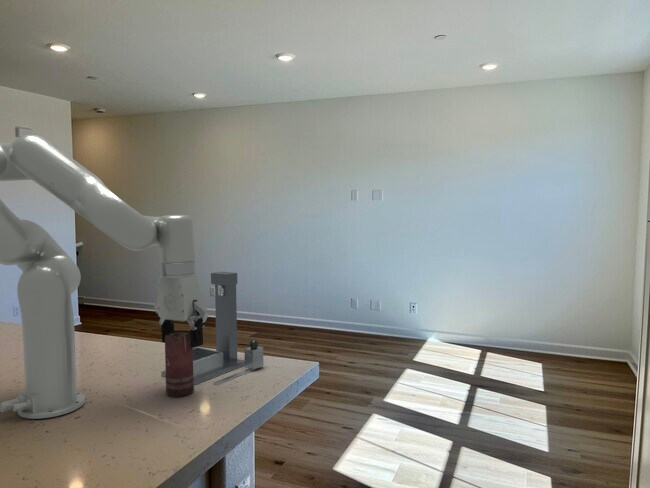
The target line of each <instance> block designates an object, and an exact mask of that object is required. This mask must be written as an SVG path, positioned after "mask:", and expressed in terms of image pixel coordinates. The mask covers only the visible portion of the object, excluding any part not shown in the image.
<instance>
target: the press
mask: <svg viewBox="0 0 650 488" xmlns="http://www.w3.org/2000/svg"><path fill="white" fill-rule="evenodd" d="M210 285H214V294H215V295H214V297H215V298H214V299H215V301H214V302H215V305H214V306H215V347H216V348H215V349H210V348H205V347H201V346H198V347H195V348H193V377H194V386H196V385H198V384H200V383H203V382H206V381H208V380H212V379H214V378H216V377H218V376H219V377H220V376H221V375H224V374H228V373H229V372H232V371H235V370H237V369H239V368H242V367H245V359H238V325H237V324H238V321H237V319H238V317H237V314H238V313H237V309H238V308H237V307H238V306H237V285H238V272H233V271H232V272H229V271H218V272H217V271H216V272H211V273H210ZM260 368H261V367H259V368H256V369H254V370H253V369H248V368H245V369H244V370H241V371H239V372H236V373H234V374H231V375H229V376H227V377H224V378H222V379H221V378H220V379H219V380H217V381H213V385H215V386H218V385H220V384H223V383H225V382H228V381H230V380H234V379H236V378H238V377H241V376H243V375H246V374H247V373H250V372H253V371H255V370H258V369H260ZM161 377H163V378H166V369H165V370H163V371H161Z"/></svg>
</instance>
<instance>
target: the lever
mask: <svg viewBox="0 0 650 488" xmlns="http://www.w3.org/2000/svg"><path fill="white" fill-rule="evenodd" d="M248 345H249V347H246V348H244V361H245V366H244V368H245V369H253V371H255V370H257V369H256V368H258V369H260V368H261V367H264V346H259V341H258V340H257V339H251V340H250V341H249V344H248ZM259 367H260V368H259ZM254 369H255V370H254Z"/></svg>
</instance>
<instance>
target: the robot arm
mask: <svg viewBox="0 0 650 488" xmlns="http://www.w3.org/2000/svg"><path fill="white" fill-rule="evenodd" d="M30 180H31V181H33V182H34V183H35V184H37V185H39V186H40V187H41V188H43V189H44V190H46V191H47V192H49V193H50V194H51V195H53V196H54V197H55V198H56V199H58V200H59V201H61V202H62V203H64V204H65V205H66V206H68V207H69V208H70V209H72V210H73V211H74V212H75V213H76V214H78V215H79V216H81V217H82V218H83V219H85V220H87V222H88V223H90V224H91V225H92V226H94V227H95V228H96V229H98V230H99V231H101V232H102V233H103V234H104V235H106V236H107V237H109V238H110V239H111V240H113V241H114V242H116V243H118V244H119V245H121V246H122V247H124V248H125V249H128V250H130V251H134V252H141V251H144V250H147V249H148V248H152V247H157V246H158V249H159V250H158V251H159V263H160V265H159V266H160V275H159V277H158V283H157V298H156V299H157V302H156V303H155V304H154V305H153V308H154V310H155V311H154V312H155V314H156V317H157V319H158V323H159V325H160V330H161V331H160V333H161V342H162V343H164V344H165V336H166V334H167V333H169V332H172V331H175V324H174V322H173V321H175V322H180V323H185V322H187V323H188V325H189V327H190V329H189V331H190V346H191V348H195V347H201V346H203V345H204V336H203V334H204V333H203V331H204V330H203V328H205V324H206V323H207V322H208V316H209V313H210V310H208V308H207V307H206V306H205V305H203V304H202V302H201V301H202V299H201V290H200V286H199V280H198V277H197V274H196V263H195V262H196V260H195V259H196V258H195V241H194V223H193V219H192V217H191V216H190V215H187V214H169V215H162V216H152V215H151V216H149V215H143V214H142V213H140V212H139V211H137V210H136V209H134V208H133V207H132V206H131V205H129V204H128V203H127V202H125V201H124V200H122V199H121V198H120V197H118V196H117V195H116V194H115V193H113V192H112V191H111V190H110V189H109V188H108V187H107V186H106V184H105V183H104V182H103V181H102V179H100V178H99V177H98V176H97V175H96V174H94V173H93V172H92V171H90V170H89V169H87V168H86V167H85V166H84V165H82V164H80V163H79V162H78V161H76V160H75V159H74V158H72V157H71V156H70V155H69V154H67V153H66V152H65V151H63V150H62V149H61V148H60V147H59V146H58V145H57V144H56V143H54V142H53V141H51V140H49V139H47V138H45V137H43V136H41V135H37V134H25V135H21V136H19V137H17V138H16V139H15V140H14V141H13V142H0V182H9V181H11V182H12V181H30ZM0 264H1V265H4V266H15V265H16V266H17V267H18V269H20V270H21V271H22V273H21V274H20V277H19V279H18V282H17V290H16V291H17V299H18V305H19V310H20V317H21V326H22V327H21V328H22V329H21V330H22V345H23V347H22V348H23V365H24V366H23V367H24V368H23V369H24V388H25V389H23V390H20V391H19V395H17V396H15V398H14V399H8V400H5V401H2V402H0V413H5V412H8V411H10V410H11V411H12V412H17V415H18V416H19V417H20V418H24V419H27V420H28V419H31V420H36V419H37V420H39V419H49V418H56V417H59V416H63V415H66V414H69V413H71V412H74V411H76V410H79V409H80V408H81V407H83V405H84V404H85V403H86V396H85V394H84V393H82V392H78V386H77V383H78V382H77V359H76V356H77V355H76V335H75V334H76V333H75V318H74V317H75V316H74V309H73V308H74V307H73V303H72V302H73V301H72V294H74V293H75V292H76V290H77V289H78V288H79V286H80V284H81V280H82V279H81V278H82V275H81V271H80V268H79V267H78V265H77V264H76V262H75V261H74V260H73V259H72V258H71V257H70V256H69V254H67V252H66V251H65V250H64V249H63V248H62V247H61V246H60V245H59V244H58V242H57V241H56V240H55V239H54V237H52V235H50V234H49V232H48V231H47V230H46V229H45V228H43V226H41V225H40V224H38V223H37V222H35V221H32V220H28V219H21V218H19V217H18V216H17V215H16V214H15V213H14V212H13V211H12V210H11V209H10V208H9V207H8V206H7V205H6V204H5V202H3V199H1V198H0Z"/></svg>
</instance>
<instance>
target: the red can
mask: <svg viewBox="0 0 650 488" xmlns="http://www.w3.org/2000/svg"><path fill="white" fill-rule="evenodd" d="M164 355H165V357H164V359H165V361H164V362H165V363H164V364H165V367H164V368H165V370H166V377H165V392H166V395H167V396H168V397H170V398H171V397H172V398H183V397H187V396H190V395H192V393H193V392H194V390H195V385H194V377H193V348H191V346H190V330H183V329H181V330H180V329H179V330H174V331H172V332H169V333H167V334H166V336H165V343H164Z"/></svg>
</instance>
